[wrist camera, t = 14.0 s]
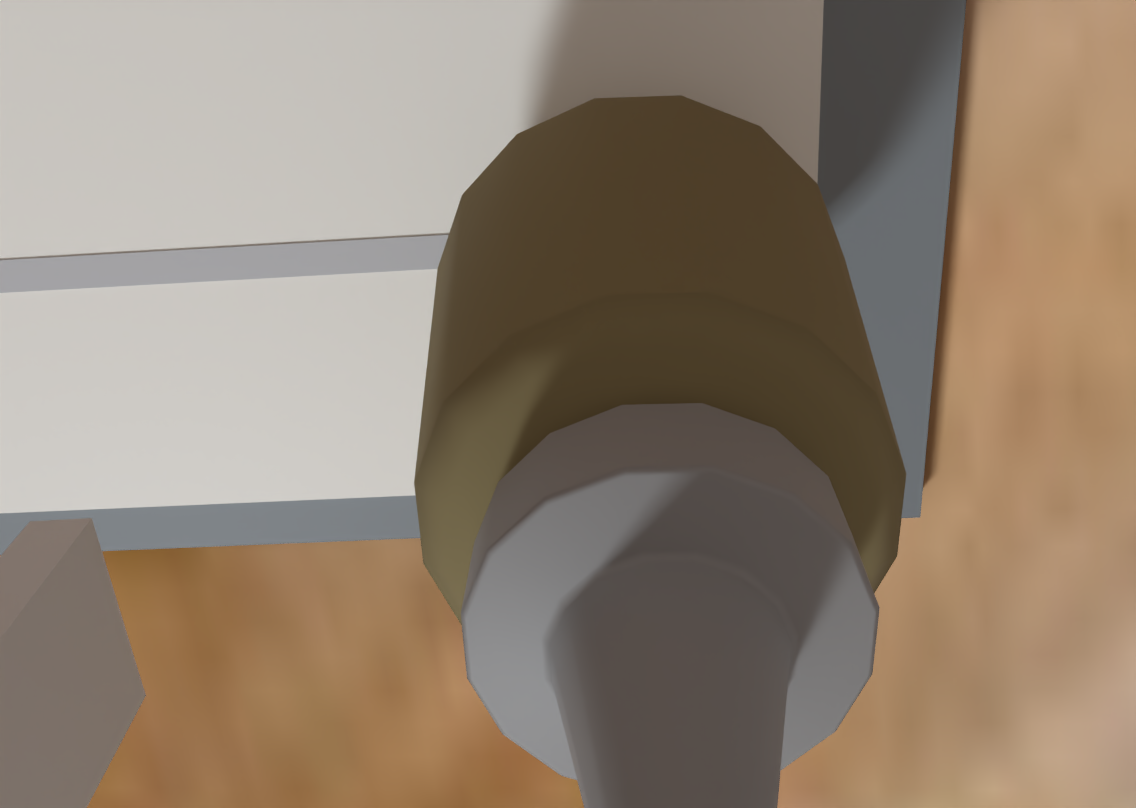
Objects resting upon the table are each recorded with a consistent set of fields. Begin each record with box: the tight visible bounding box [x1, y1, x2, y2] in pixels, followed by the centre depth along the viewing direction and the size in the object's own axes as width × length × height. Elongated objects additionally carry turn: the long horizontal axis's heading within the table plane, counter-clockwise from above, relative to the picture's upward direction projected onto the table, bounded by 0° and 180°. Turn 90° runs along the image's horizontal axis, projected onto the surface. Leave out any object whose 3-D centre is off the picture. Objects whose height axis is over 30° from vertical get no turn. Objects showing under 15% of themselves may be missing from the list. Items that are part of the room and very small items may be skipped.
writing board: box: [0, 0, 966, 555], centre depth 26 cm, size 30×16×1 cm, turn 94°
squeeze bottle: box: [414, 95, 906, 808], centre depth 17 cm, size 8×8×18 cm
